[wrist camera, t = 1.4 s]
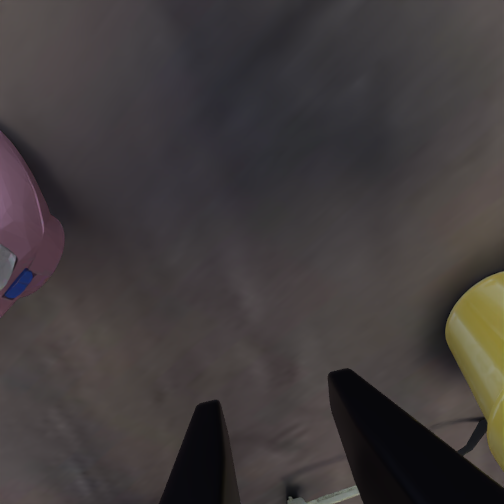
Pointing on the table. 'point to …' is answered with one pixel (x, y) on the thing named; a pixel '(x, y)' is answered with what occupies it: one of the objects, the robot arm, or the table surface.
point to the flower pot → (482, 352)
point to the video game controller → (24, 230)
